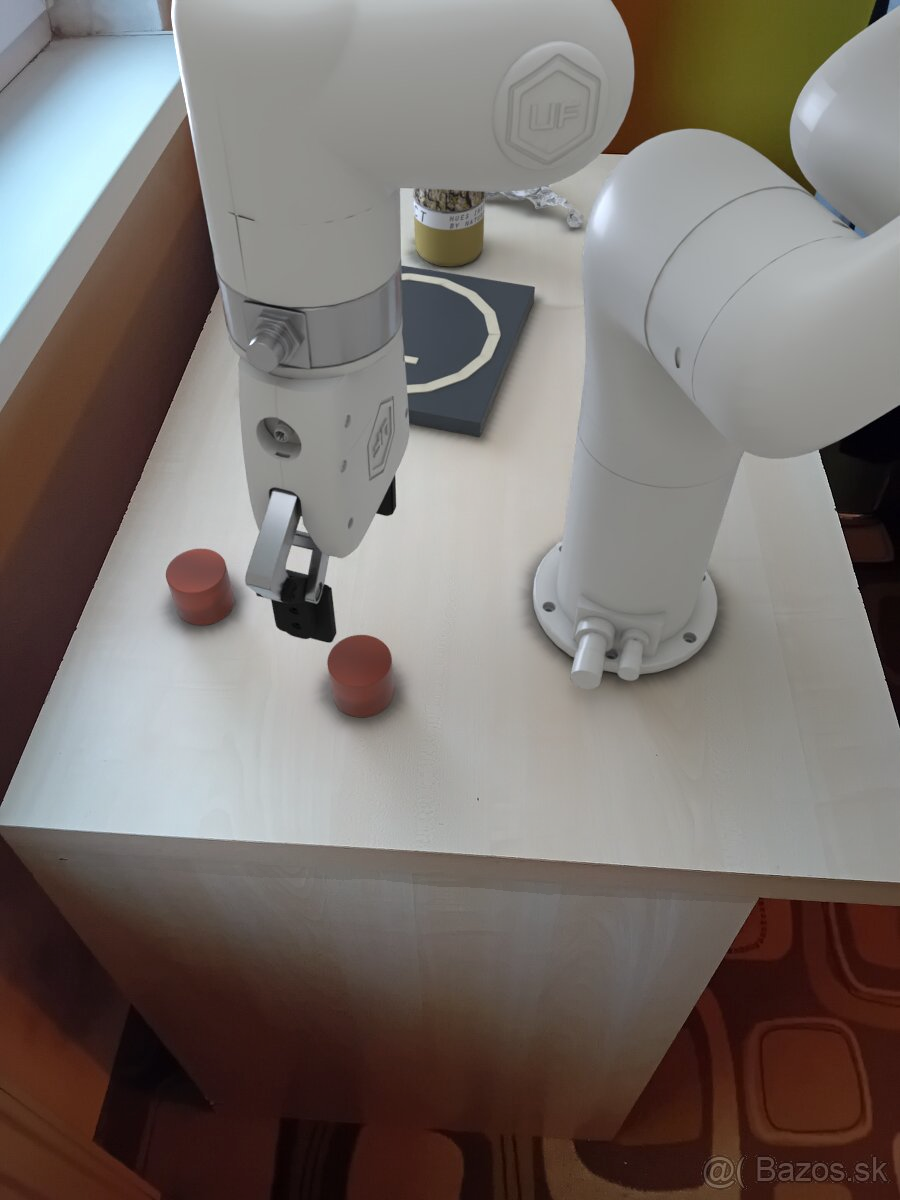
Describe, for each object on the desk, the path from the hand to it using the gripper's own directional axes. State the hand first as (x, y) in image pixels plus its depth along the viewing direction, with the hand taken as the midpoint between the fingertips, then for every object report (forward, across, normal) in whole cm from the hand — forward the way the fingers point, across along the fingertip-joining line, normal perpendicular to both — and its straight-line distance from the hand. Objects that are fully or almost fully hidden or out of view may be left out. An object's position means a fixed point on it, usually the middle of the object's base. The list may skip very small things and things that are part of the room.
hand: (339, 566), depth 54 cm
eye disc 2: (+12, 0, -1) cm, 12 cm away
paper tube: (+12, +52, +9) cm, 54 cm away
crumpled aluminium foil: (+10, +63, +4) cm, 64 cm away
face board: (+12, +36, +9) cm, 39 cm away
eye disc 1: (+12, +4, +12) cm, 18 cm away
